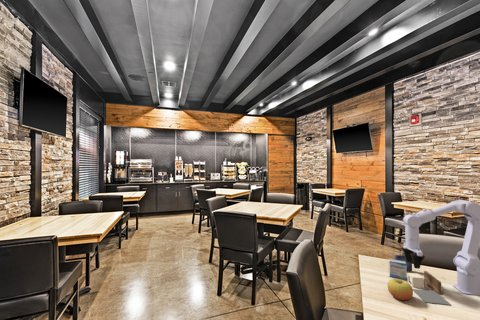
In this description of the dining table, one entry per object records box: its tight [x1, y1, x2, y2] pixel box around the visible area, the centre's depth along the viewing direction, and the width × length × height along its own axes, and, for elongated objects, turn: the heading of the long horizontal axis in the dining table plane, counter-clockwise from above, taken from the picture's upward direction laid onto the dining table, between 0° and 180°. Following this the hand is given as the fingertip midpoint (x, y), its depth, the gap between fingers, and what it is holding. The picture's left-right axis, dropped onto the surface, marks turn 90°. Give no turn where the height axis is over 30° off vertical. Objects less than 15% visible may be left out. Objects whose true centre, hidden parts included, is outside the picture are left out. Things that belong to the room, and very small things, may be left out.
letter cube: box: [407, 272, 425, 289], centre depth 119 cm, size 5×5×5 cm
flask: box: [393, 250, 413, 272], centre depth 136 cm, size 9×3×11 cm, turn 76°
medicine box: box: [388, 258, 408, 281], centre depth 128 cm, size 8×4×9 cm, turn 62°
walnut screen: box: [423, 270, 445, 296], centre depth 117 cm, size 3×13×6 cm, turn 168°
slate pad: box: [412, 288, 452, 306], centre depth 108 cm, size 10×11×1 cm
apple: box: [387, 278, 414, 301], centre depth 108 cm, size 10×10×8 cm
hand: (412, 265), depth 119 cm, fingers open, 7 cm apart
